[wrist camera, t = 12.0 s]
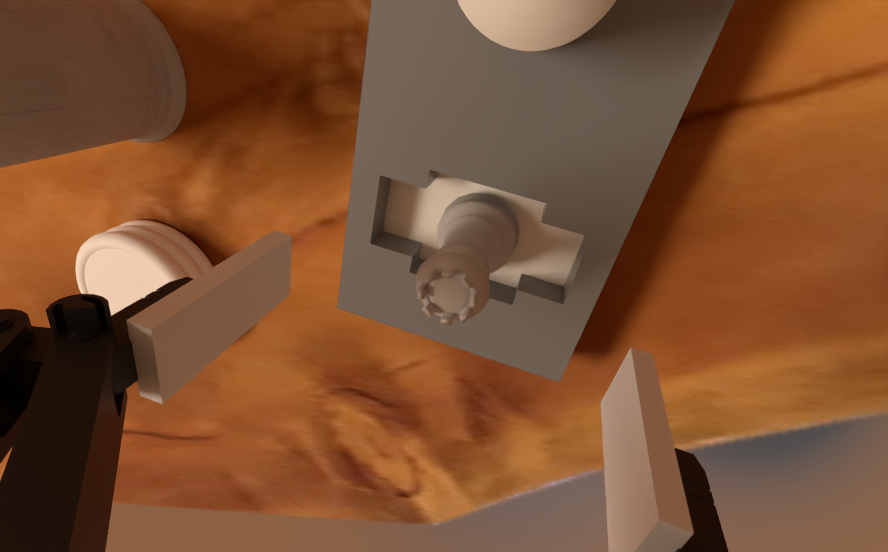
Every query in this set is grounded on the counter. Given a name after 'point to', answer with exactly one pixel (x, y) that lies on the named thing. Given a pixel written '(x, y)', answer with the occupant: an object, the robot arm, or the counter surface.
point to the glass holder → (84, 77)
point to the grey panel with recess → (514, 153)
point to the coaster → (136, 261)
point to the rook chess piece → (466, 257)
